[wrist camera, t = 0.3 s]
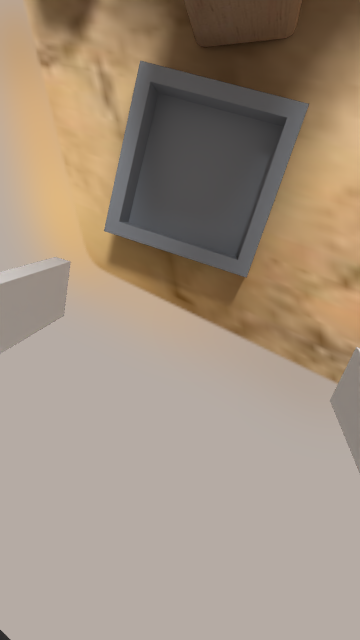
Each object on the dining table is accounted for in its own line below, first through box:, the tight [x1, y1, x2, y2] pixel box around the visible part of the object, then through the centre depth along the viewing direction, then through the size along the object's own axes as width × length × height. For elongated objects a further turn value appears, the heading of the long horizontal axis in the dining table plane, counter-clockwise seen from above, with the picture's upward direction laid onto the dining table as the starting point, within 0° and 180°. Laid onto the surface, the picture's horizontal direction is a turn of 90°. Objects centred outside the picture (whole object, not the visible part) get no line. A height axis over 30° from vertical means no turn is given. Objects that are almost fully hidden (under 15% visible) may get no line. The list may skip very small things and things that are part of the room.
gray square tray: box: [104, 61, 309, 278], centre depth 36 cm, size 17×17×4 cm
